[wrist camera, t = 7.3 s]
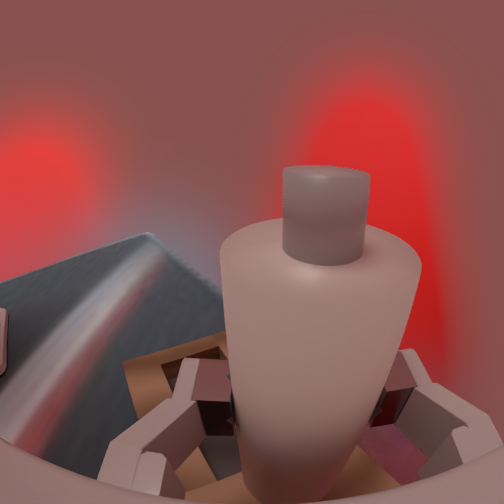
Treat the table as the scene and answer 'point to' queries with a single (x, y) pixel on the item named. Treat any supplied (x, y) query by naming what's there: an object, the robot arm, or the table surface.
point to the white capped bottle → (311, 330)
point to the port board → (226, 447)
